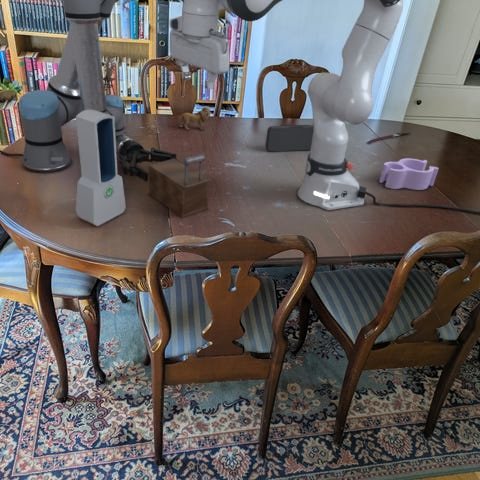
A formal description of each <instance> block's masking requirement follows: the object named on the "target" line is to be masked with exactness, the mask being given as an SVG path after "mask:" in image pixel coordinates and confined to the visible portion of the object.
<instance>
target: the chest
mask: <svg viewBox="0 0 480 480" xmlns="http://www.w3.org/2000/svg"><path fill="white" fill-rule="evenodd" d="M209 184H210V183H207V184H204V185H200V186H197V187H194V188H191V189H187V190H183V189H181V188H180V187H178V186H177V185H175V184H174V183H172V182H170V181H169V180H167V179H166V178H164V177H163V176H161V175H160V174H158V173H157V172H155V171H153V170H152V169H150V168H149V167H148V194H149V196H151V197H152V198H154V199H155V200H157V201H159V203H161V204H162V205H164V206H165V207H166V208H168V209H169V210H170V211H172V212H173V213H175V214H176V215H178V216H179V217H181V218H185V217H188V216H191V215H194V214H196V213H199V212H202V211H206V210H207V209H208V201H209V200H208V199H209V186H210V185H209Z"/></svg>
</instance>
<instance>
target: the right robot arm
mask: <svg viewBox="0 0 480 480" xmlns="http://www.w3.org/2000/svg"><path fill="white" fill-rule="evenodd" d="M282 1H283V0H183V4H182V8H181V15H180V16H176V17H173V18H170V19H169V28H170V29H171V30H170V32H169V54H170V56H171V58H173V59H175V60H178V61H179V67H180V70H181V72H182V73H181V78H182V79H183V80H186V81H190V80H191V79H192V72H191V71H190V68H189V65H191V66H193V67H197V68H198V69H202V70H204V71H206V72H207V76H208V78H207V80H205V81H204V88H205V89H207V90H213V89H214V87H215V81H216V80H217V78H218V76H219V75H224V74H227V73H228V72H229V70H230V47H229V40H228V38H227V36H226V35H225V33H224V32H221V31H219V16H220V11H221V10H226V11H227V12H229V13H231V14H233V15H235V16H236V17H237V18H239V19H240V20H242V21H245V22H256V21H258V20H260V19H262V18H263V17H264V16H266V15H267V14H268V13H269V12H271V10H272V9H273V8H274V7H275V6H276V5H278V4H279V3H280V2H282ZM403 9H404V4H403V0H363V6H362V10H361V12H360V14H359V16H358V17H357V19H356V21H355V23H354V25H353V27H352V29H351V31H350V33H349V35H348V36H347V39H346V41H345V43H344V45H343V47H342V49H341V57H342V69H341V73H340V75H338V74H336V73H334V72H333V73H332V72H320V73H317V74H316V75H314V76H313V77H312V78H311V79H310V81H309V83H308V87H307V96H308V98H309V100H310V104H311V110H312V111H311V112H312V125H313V138H312V144H311V150H309V153H308V155H307V159H306V163H305V172H304V176H303V179H302V182H301V185H300V186H299V189H298V191H297V197H299V199H300V200H302V201H303V202H305V203H307V204H309V205H312V206H316V207H319V208H321V209H324V210H326V211H334V210H340V209H341V210H342V209H346V208H352V207H358V206H363V205H364V204H365V196H366V195H367V196H369V197H371V198H372V203H373V204H374V205H377V206H383V207H421V208H423V207H425V208H438V209H447V210H448V209H449V210H456V211H461V212H466V213H473V214H478V215H480V211H479V210H474V209H469V208H462V207H456V206H449V205H442V204H426V203H379V202H378V201H376V200H377V199H376V196H375V195H373V194H372V193H371V192H368V191H367V188H368V187H365V186H360V184H359V182H358V180H357V178H355V176H354V175H353V174H352V173H351V172H349V171H352V170H354V168H355V167H354V164H353V163H352V162H349V161H348V160H347V159H346V158H345V156H346V152H347V147H348V143H349V133H348V131H347V128H346V124H347V125H353V126H357V125H360V124H363V123H365V121H367V120H368V119H369V118H370V117H371V114H372V113H373V110H374V99H373V93H372V90H373V82H374V77H375V74H376V70H377V67H378V65H379V64H380V62H381V59H382V57H383V55H384V53H385V51H386V49H387V47H388V45H389V43H390V42H391V40H392V37H394V34H395V31H396V29H397V27H398V24H399V22H400V19H401V16H402V13H403Z"/></svg>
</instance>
